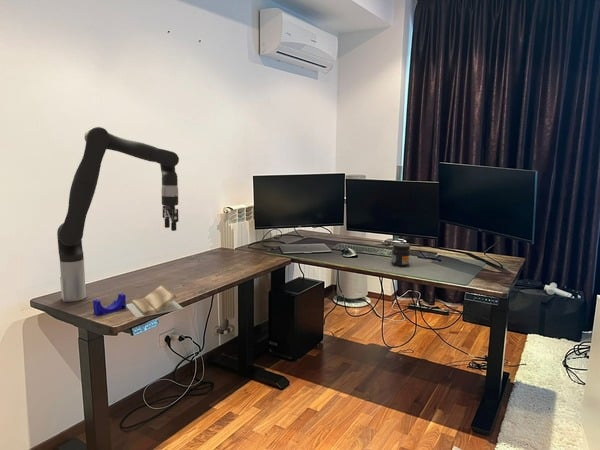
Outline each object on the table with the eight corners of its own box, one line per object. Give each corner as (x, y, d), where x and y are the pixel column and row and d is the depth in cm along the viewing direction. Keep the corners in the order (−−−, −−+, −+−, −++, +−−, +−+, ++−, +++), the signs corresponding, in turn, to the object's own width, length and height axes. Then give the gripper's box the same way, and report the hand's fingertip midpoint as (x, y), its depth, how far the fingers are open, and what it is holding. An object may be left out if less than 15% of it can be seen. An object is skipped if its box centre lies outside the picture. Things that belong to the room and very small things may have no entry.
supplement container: (413, 266, 265) (414, 246, 263) (398, 268, 261) (399, 247, 259) (402, 262, 275) (403, 242, 273) (387, 263, 271) (388, 243, 269)
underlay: (136, 318, 181) (136, 317, 181) (124, 305, 195) (124, 304, 195) (183, 309, 192) (183, 308, 192) (169, 297, 206) (169, 296, 206)
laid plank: (143, 315, 183) (143, 311, 183) (132, 303, 196) (132, 300, 196) (156, 313, 186) (156, 309, 186) (144, 301, 199) (144, 297, 199)
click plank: (158, 311, 186) (156, 308, 186) (146, 300, 199) (144, 297, 199) (176, 297, 190) (174, 294, 189) (163, 287, 203) (161, 284, 202)
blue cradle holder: (120, 306, 194) (120, 292, 193) (126, 308, 191) (125, 294, 190) (92, 313, 185) (91, 299, 184) (97, 316, 183) (96, 301, 181)
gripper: (156, 193, 220) (157, 227, 222) (167, 196, 208) (168, 232, 211) (172, 193, 224) (172, 226, 227) (183, 196, 213) (184, 231, 215)
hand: (170, 229), depth 219 cm, fingers open, 8 cm apart
